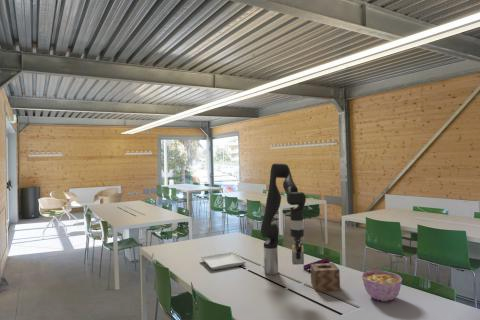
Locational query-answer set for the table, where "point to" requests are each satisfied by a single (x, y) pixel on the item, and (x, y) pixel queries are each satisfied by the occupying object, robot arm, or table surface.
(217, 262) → the square plate
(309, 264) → the mounting bracket
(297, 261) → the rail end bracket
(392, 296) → the bowl of food
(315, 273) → the patterned tissue box
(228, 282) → the table surface
